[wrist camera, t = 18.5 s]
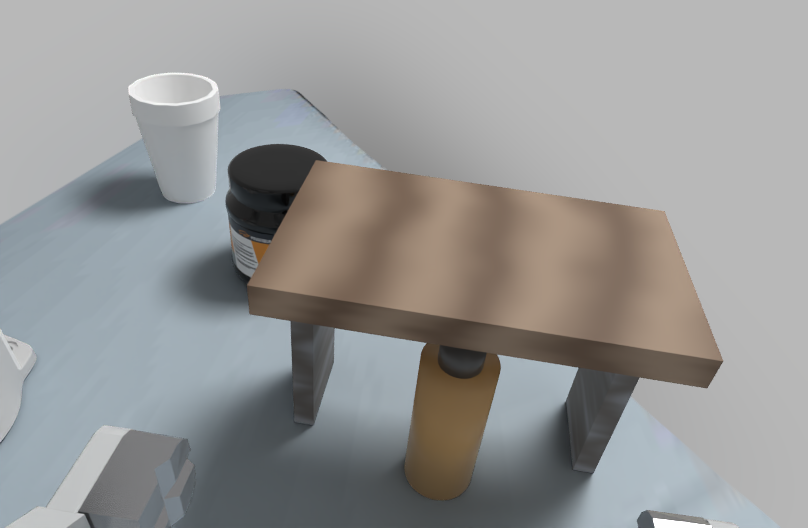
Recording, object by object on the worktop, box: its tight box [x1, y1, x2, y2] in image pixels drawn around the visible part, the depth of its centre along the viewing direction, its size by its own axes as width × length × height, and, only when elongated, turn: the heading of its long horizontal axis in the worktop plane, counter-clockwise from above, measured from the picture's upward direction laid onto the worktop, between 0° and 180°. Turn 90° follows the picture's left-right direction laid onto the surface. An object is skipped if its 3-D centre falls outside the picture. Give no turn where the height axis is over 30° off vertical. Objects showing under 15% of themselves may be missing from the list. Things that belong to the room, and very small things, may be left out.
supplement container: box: [225, 144, 327, 284], centre depth 61 cm, size 10×10×12 cm
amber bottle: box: [404, 343, 501, 500], centre depth 42 cm, size 5×5×14 cm
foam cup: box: [128, 73, 220, 203], centre depth 70 cm, size 10×9×13 cm
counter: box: [247, 160, 723, 473], centre depth 42 cm, size 24×14×20 cm, turn 82°
